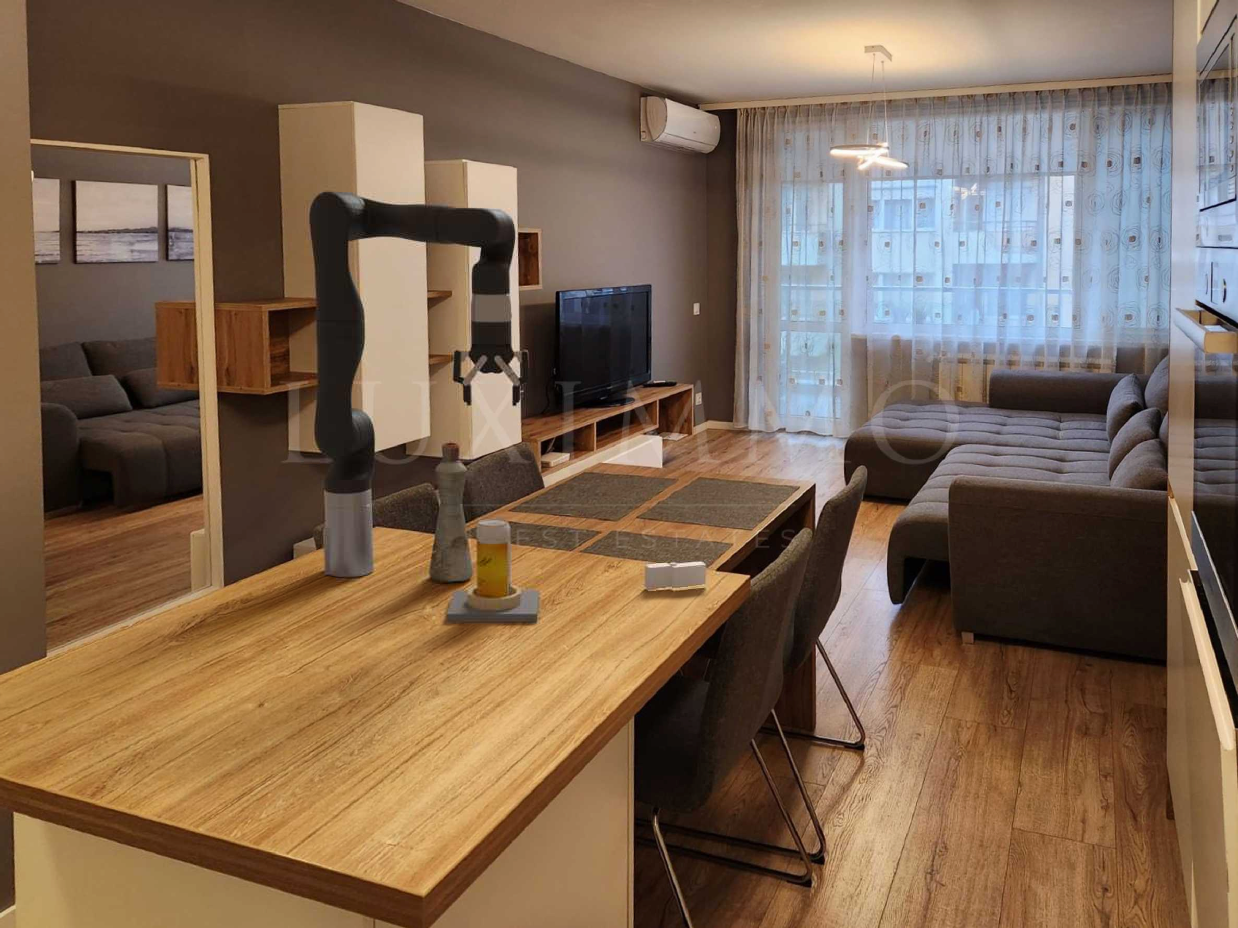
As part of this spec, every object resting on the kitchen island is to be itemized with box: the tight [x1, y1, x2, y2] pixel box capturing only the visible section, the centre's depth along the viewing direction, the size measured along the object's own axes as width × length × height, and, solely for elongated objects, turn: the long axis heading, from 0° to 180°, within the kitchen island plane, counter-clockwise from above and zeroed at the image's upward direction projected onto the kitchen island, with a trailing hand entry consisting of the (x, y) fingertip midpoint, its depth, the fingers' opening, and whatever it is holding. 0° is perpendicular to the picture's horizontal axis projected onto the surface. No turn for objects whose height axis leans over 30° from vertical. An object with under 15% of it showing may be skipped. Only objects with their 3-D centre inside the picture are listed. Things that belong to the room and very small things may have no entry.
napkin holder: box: [644, 561, 707, 590], centre depth 218 cm, size 15×11×6 cm
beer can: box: [476, 518, 512, 598], centre depth 202 cm, size 6×6×15 cm
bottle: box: [428, 441, 474, 583], centre depth 220 cm, size 9×9×28 cm
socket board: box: [446, 584, 540, 623], centre depth 204 cm, size 16×14×4 cm
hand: (492, 405), depth 209 cm, fingers open, 8 cm apart
